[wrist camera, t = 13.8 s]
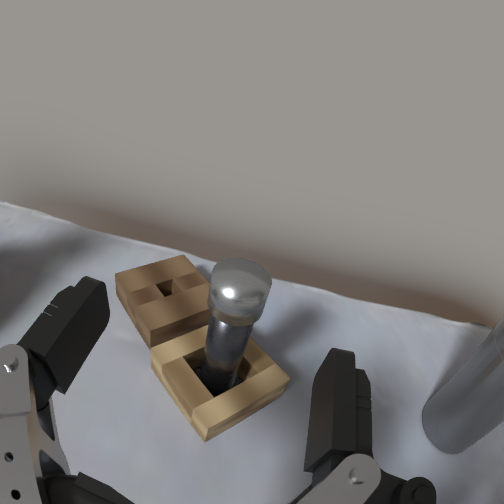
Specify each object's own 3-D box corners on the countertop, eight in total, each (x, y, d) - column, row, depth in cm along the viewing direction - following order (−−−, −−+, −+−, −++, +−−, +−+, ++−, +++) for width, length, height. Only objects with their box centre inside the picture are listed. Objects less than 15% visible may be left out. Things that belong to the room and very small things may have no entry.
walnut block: (181, 274, 45) (183, 254, 43) (222, 321, 40) (227, 301, 38) (116, 294, 39) (114, 273, 37) (150, 351, 33) (150, 330, 32)
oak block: (225, 335, 38) (230, 315, 36) (281, 395, 32) (290, 378, 30) (151, 367, 32) (150, 348, 30) (204, 442, 26) (208, 428, 24)
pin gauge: (220, 361, 35) (246, 252, 26) (244, 390, 32) (283, 285, 24) (186, 377, 32) (200, 266, 23) (211, 409, 29) (237, 305, 21)
